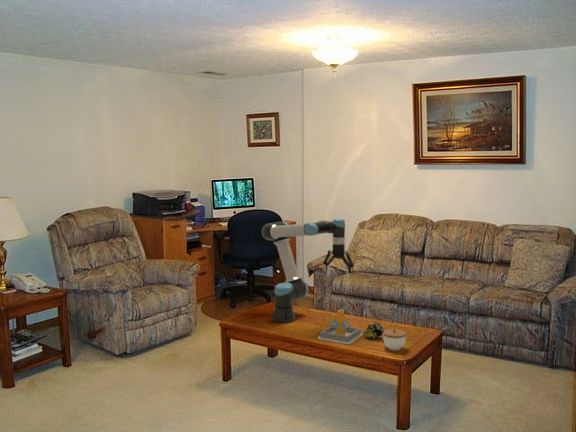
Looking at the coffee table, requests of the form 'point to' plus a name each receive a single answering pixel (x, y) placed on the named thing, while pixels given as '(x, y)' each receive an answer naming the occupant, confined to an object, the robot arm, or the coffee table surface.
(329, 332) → the holder tray
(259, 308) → the coffee table surface
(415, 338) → the coffee table surface
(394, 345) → the lidded bowl
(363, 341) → the coffee table surface
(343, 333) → the orange tube
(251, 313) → the coffee table surface
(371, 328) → the passion flower
